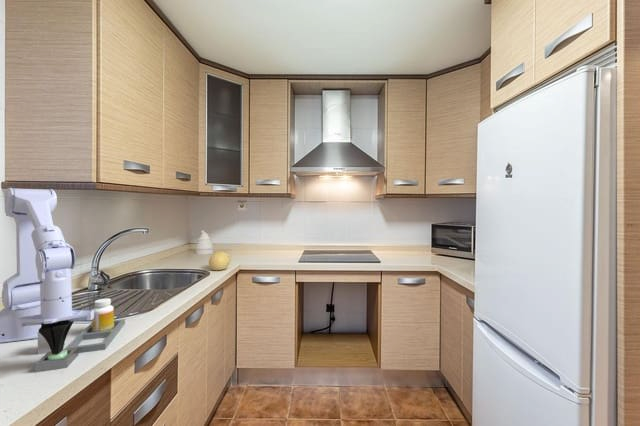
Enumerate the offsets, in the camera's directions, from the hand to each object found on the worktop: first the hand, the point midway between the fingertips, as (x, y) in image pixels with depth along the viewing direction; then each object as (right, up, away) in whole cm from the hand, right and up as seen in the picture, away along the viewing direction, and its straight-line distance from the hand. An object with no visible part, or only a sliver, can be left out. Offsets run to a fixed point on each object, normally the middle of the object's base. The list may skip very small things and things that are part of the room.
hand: (57, 352), depth 72 cm
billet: (-8, -3, +7) cm, 11 cm away
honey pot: (-29, +1, +167) cm, 169 cm away
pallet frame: (-1, -2, +14) cm, 14 cm away
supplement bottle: (-2, -3, +18) cm, 18 cm away
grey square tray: (0, -3, 0) cm, 3 cm away
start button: (0, -2, 0) cm, 2 cm away
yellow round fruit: (+4, 0, +105) cm, 105 cm away
